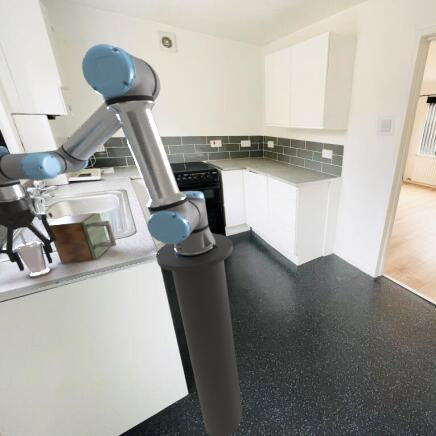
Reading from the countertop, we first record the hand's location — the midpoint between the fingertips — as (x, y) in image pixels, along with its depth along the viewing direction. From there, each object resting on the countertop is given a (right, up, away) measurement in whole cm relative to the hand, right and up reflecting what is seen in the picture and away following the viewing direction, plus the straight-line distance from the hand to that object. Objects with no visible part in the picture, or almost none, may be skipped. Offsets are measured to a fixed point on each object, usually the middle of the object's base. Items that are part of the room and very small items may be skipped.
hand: (36, 265), depth 82 cm
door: (+14, +3, +15) cm, 21 cm away
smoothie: (0, -2, +1) cm, 2 cm away
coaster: (0, -3, +1) cm, 3 cm away
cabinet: (+5, +2, +13) cm, 14 cm away
